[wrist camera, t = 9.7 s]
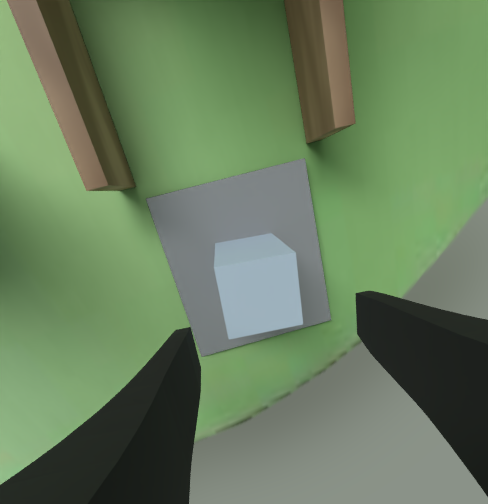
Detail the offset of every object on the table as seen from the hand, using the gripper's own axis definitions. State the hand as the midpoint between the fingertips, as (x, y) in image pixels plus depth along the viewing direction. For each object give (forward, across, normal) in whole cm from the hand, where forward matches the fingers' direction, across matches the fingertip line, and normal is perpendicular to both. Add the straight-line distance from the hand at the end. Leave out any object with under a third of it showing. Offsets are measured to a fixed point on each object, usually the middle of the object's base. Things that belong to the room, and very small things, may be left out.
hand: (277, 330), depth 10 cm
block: (+9, 0, 0) cm, 9 cm away
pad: (+10, 0, 0) cm, 10 cm away
